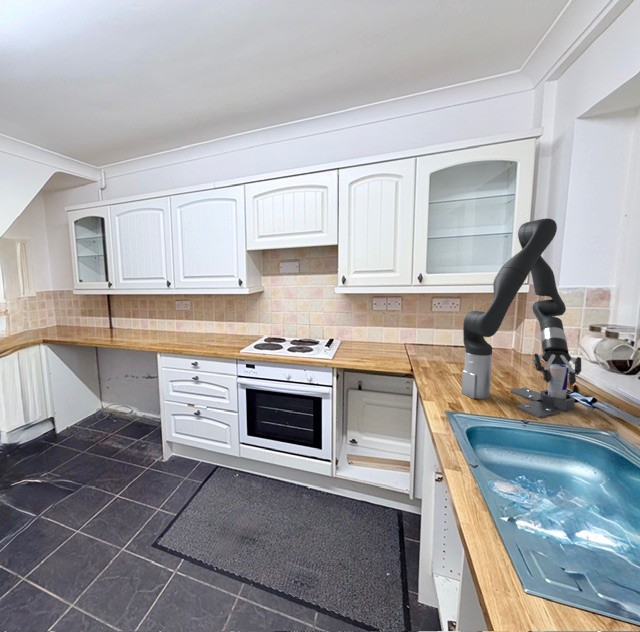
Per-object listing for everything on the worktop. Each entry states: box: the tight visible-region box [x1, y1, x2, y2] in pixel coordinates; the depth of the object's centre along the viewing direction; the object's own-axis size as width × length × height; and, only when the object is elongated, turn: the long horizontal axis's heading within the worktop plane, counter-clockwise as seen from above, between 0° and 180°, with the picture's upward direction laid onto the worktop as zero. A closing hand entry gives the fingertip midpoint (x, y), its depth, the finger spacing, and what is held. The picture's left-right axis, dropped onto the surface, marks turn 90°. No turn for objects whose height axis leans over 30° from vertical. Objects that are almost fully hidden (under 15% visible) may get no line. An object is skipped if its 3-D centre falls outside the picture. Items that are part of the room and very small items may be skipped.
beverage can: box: [547, 364, 569, 400], centre depth 105 cm, size 5×5×15 cm
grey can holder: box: [510, 387, 576, 419], centre depth 108 cm, size 19×19×4 cm
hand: (560, 382), depth 102 cm, fingers open, 6 cm apart
